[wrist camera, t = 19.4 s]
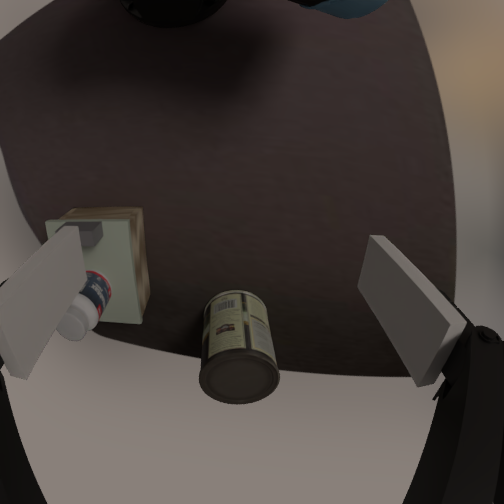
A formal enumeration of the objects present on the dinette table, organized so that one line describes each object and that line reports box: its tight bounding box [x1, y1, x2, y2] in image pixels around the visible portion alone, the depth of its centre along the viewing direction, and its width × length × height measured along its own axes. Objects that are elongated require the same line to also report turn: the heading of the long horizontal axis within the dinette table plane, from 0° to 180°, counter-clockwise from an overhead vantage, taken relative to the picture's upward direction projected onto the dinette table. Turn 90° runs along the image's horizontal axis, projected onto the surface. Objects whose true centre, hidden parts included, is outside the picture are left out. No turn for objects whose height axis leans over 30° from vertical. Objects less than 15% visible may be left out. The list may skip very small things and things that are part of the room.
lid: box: [45, 219, 143, 324], centre depth 35 cm, size 15×12×4 cm
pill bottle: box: [56, 269, 112, 341], centre depth 33 cm, size 5×5×9 cm
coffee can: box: [199, 290, 280, 404], centre depth 44 cm, size 10×10×14 cm
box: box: [59, 207, 150, 316], centre depth 40 cm, size 14×11×7 cm
